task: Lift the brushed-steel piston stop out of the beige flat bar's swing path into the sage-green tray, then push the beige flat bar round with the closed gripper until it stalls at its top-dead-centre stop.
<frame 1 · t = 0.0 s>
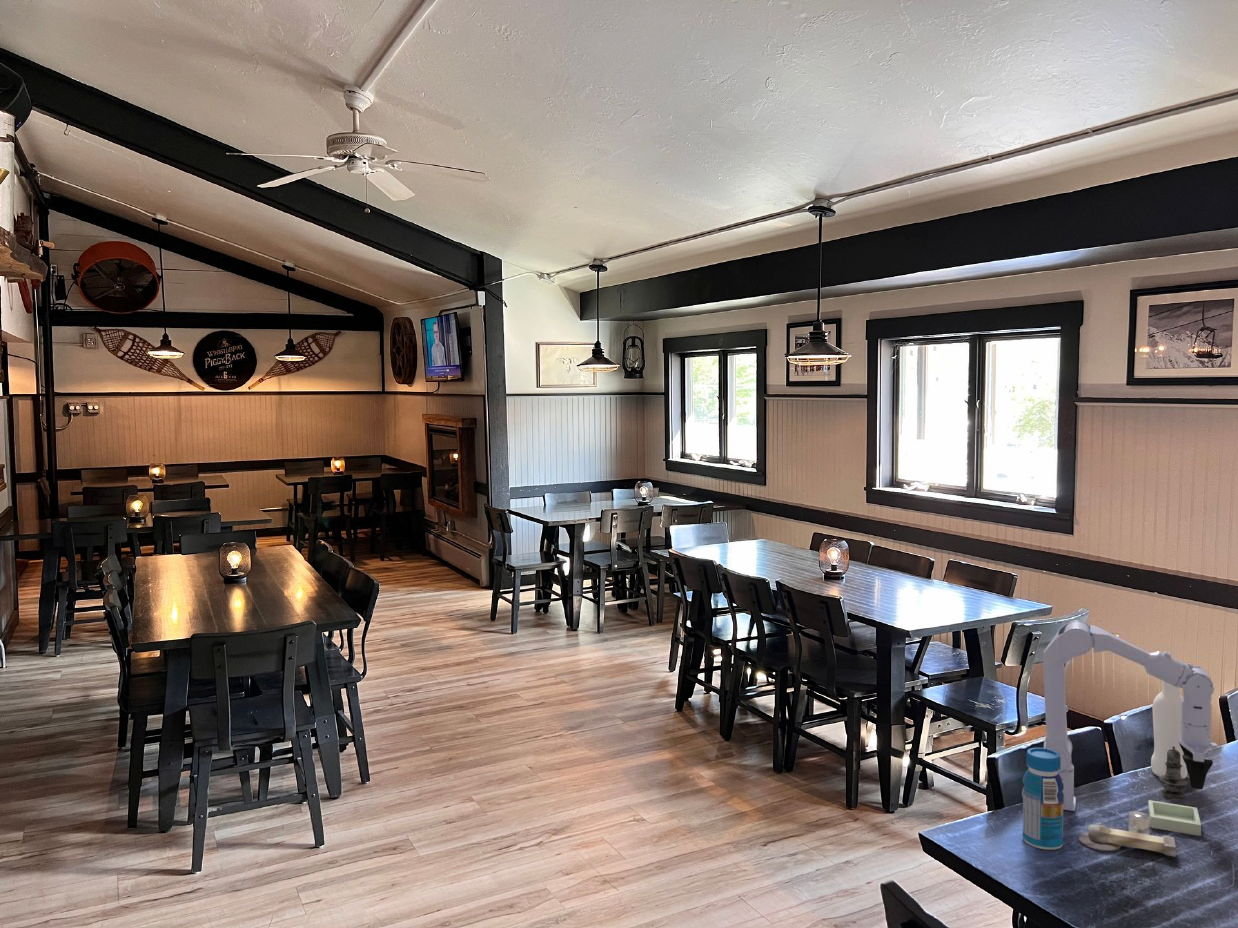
hand: (1195, 781, 203), 10 cm above the table, fingers open, 7 cm apart
tray: (1173, 822, 205), on the table
bottle: (1169, 775, 232), on the table
crank base: (1099, 842, 197), on the table
dark grey tiered tower: (1173, 794, 220), on the table
beige flat bar: (1130, 838, 194), point 2 cm above the table, hinge at 0.0°
piston stop: (1138, 837, 199), on the table
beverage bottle: (1042, 842, 198), on the table
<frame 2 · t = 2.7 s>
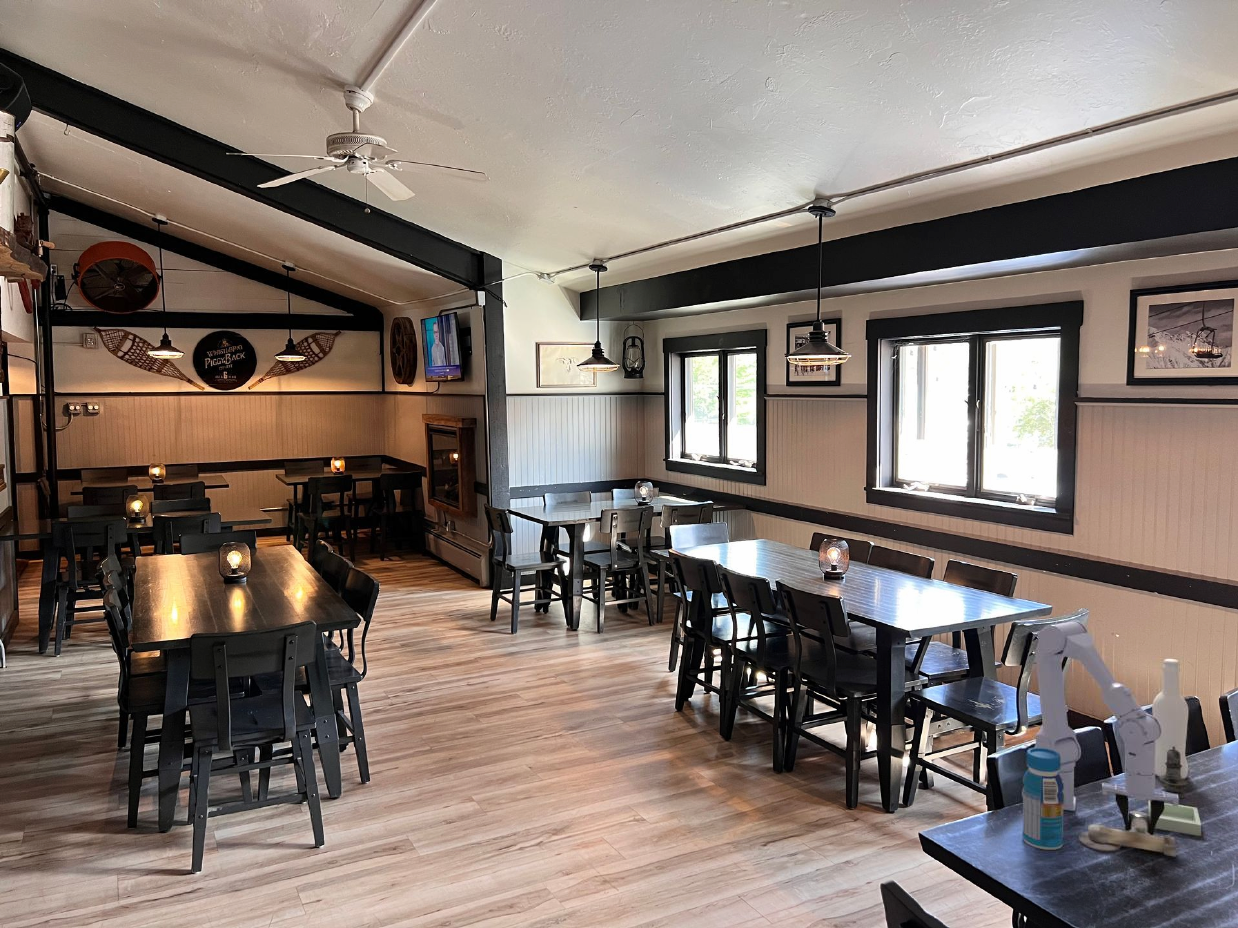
hand: (1139, 830, 199), 1 cm above the table, fingers closed on piston stop, 4 cm apart
piston stop: (1138, 837, 199), on the table, touching gripper
everything else where it was.
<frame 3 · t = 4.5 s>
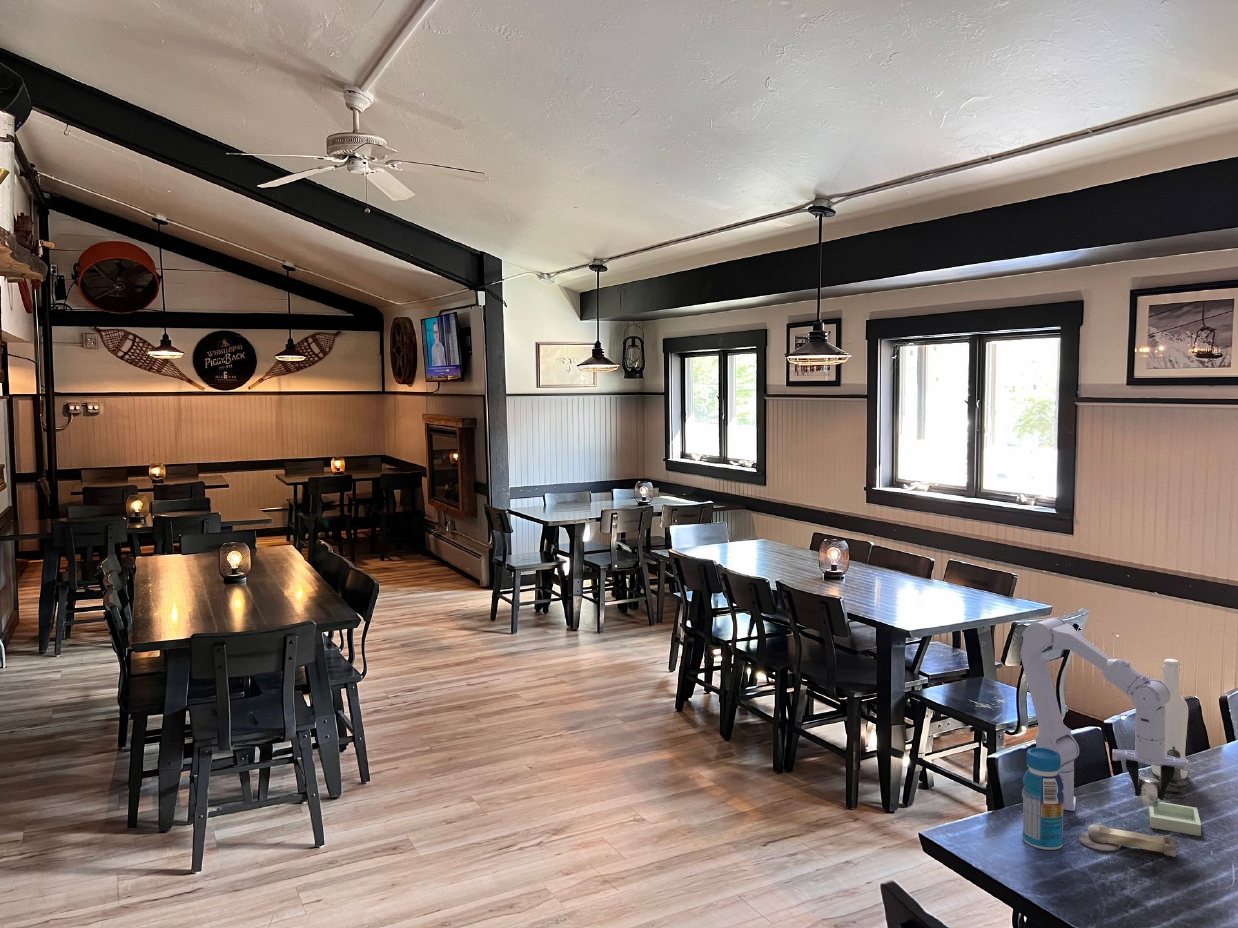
hand: (1149, 796, 200), 8 cm above the table, fingers closed on piston stop, 4 cm apart
piston stop: (1149, 802, 200), point 7 cm above the table, touching gripper
everything else where it was.
when the fingers open (3 cm above the table, at t = 6.4 s): piston stop drops 1 cm, resting on tray.
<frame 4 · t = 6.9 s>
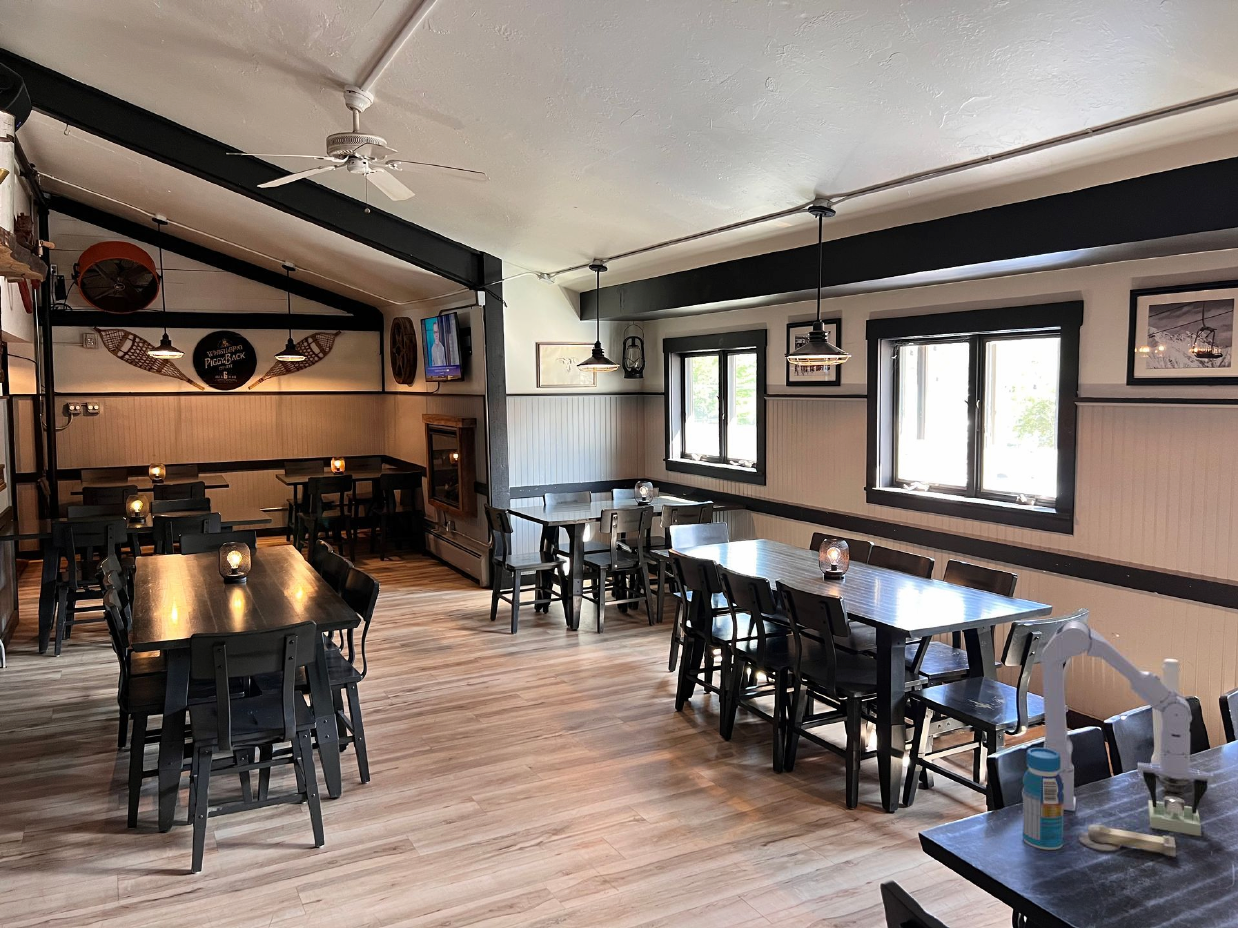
hand: (1174, 808, 205), 3 cm above the table, fingers open, 7 cm apart
piston stop: (1173, 821, 205), resting on tray
everything else where it was.
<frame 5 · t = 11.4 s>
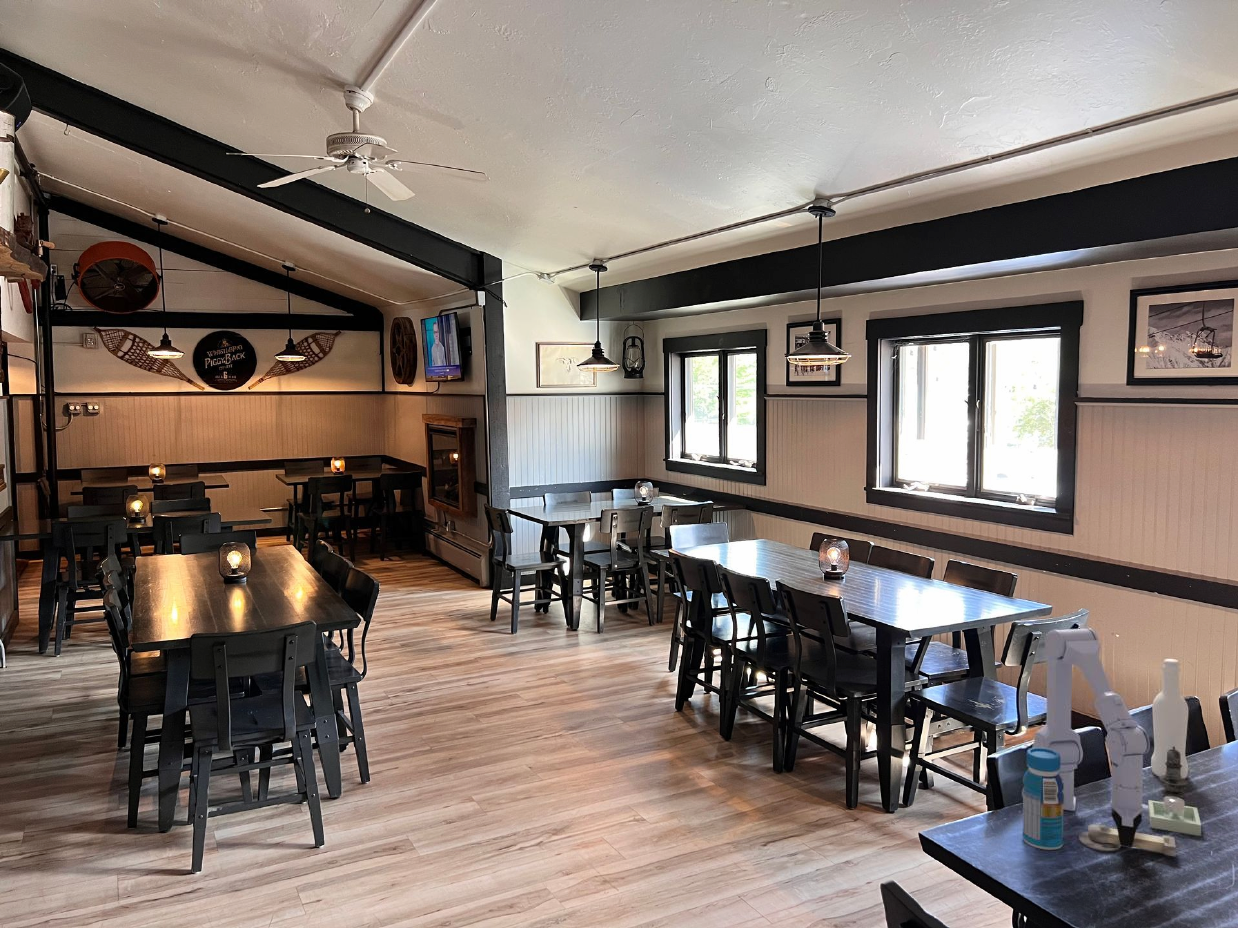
hand: (1126, 845, 192), 1 cm above the table, fingers closed, pressing on beige flat bar
beige flat bar: (1130, 838, 194), point 2 cm above the table, hinge at 0.1°, touching gripper
everything else where it was.
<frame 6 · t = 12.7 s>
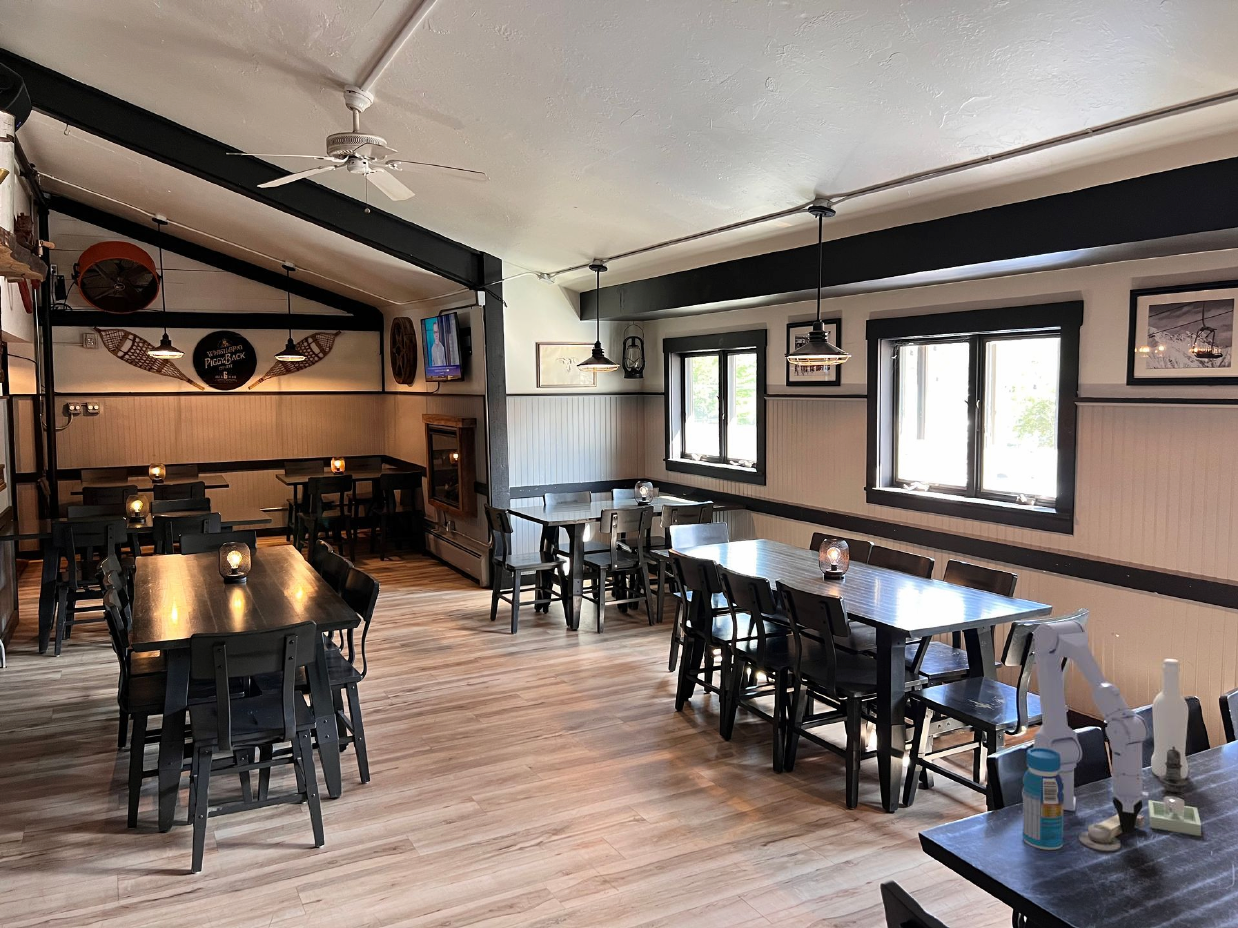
hand: (1127, 832, 198), 2 cm above the table, fingers closed, pressing on beige flat bar
beige flat bar: (1113, 826, 200), point 2 cm above the table, hinge at 61.3°, touching gripper
everything else where it was.
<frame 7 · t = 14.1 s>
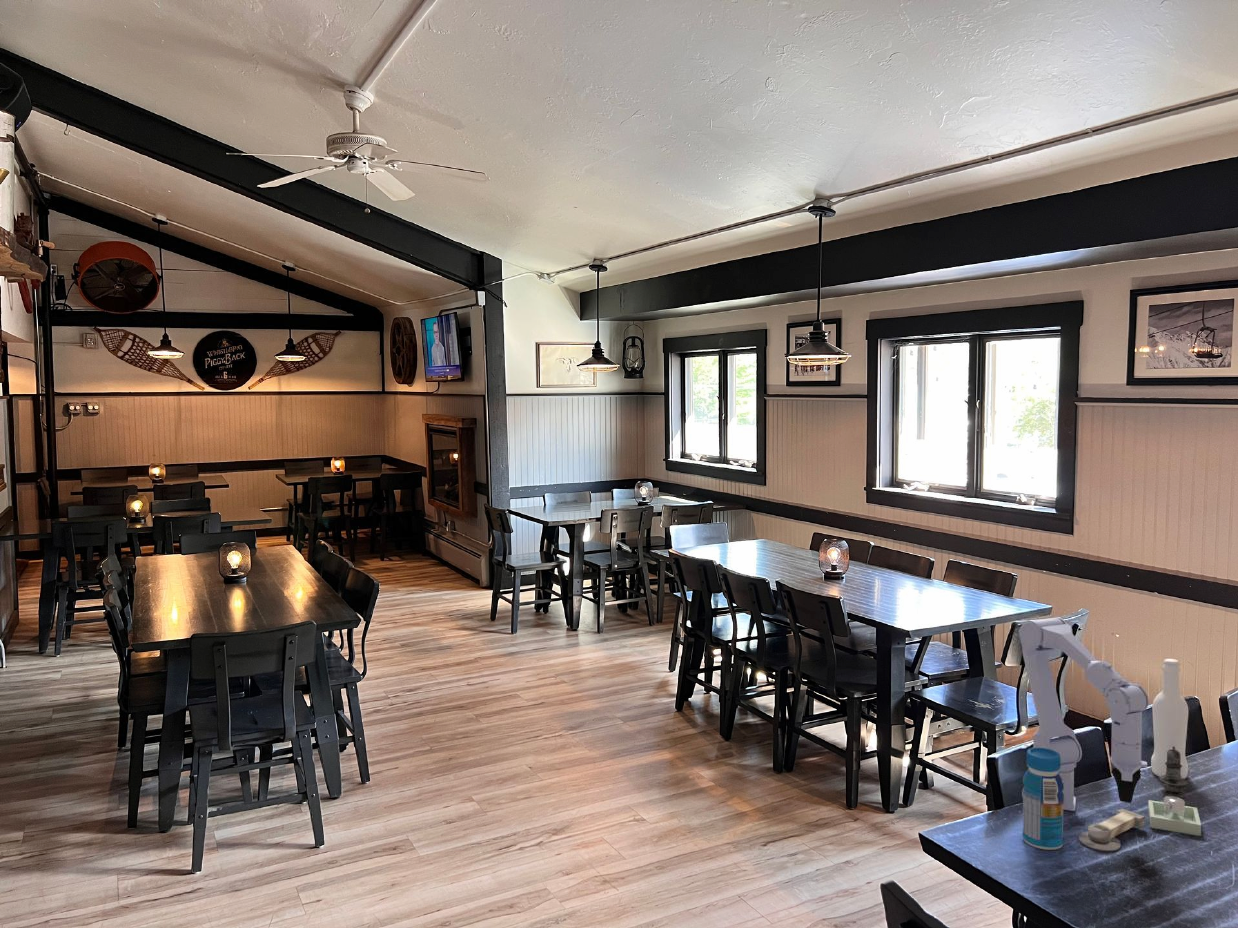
hand: (1125, 800, 199), 8 cm above the table, fingers closed
beige flat bar: (1114, 826, 200), point 2 cm above the table, hinge at 61.2°
everything else where it was.
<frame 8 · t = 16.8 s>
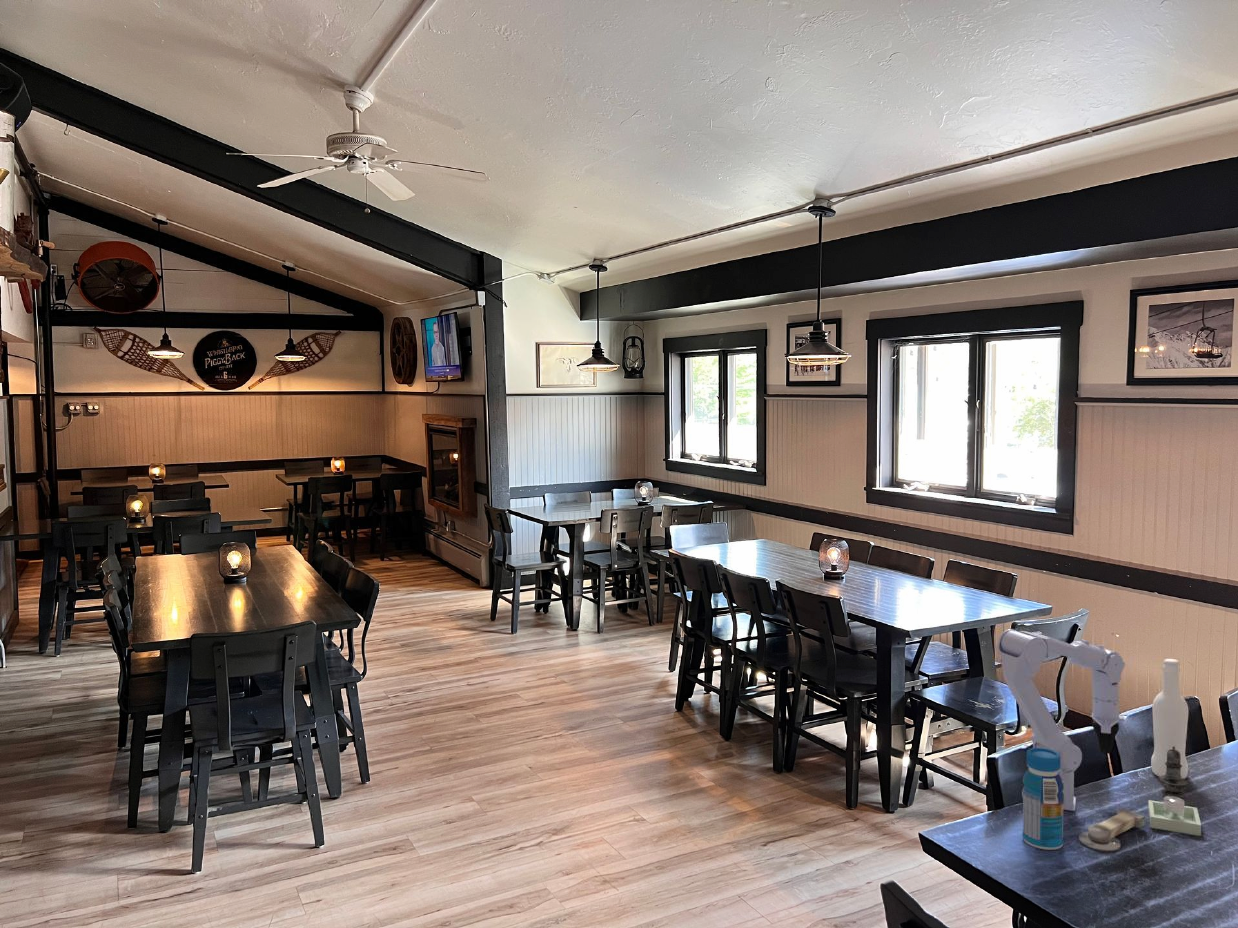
hand: (1105, 752, 221), 10 cm above the table, fingers closed
nothing on the table moved.
at the end: piston stop 0.2 cm off-centre on the tray, point 0.4 cm above the tray's base; piston stop tilted 1°; beige flat bar at +61° (first picture: +0°) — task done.
